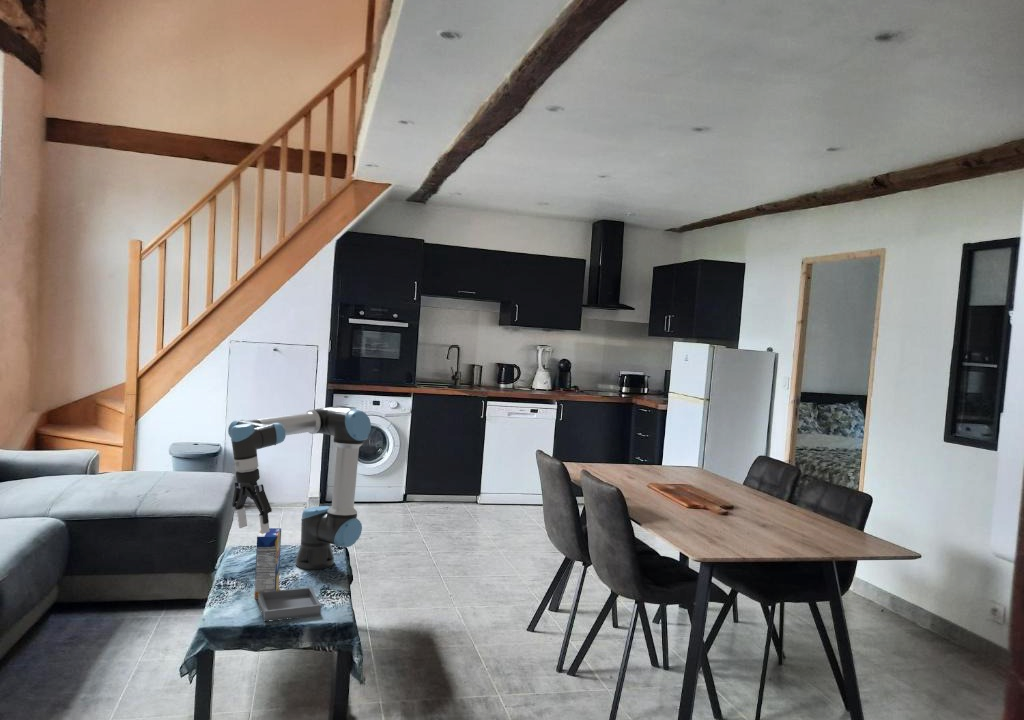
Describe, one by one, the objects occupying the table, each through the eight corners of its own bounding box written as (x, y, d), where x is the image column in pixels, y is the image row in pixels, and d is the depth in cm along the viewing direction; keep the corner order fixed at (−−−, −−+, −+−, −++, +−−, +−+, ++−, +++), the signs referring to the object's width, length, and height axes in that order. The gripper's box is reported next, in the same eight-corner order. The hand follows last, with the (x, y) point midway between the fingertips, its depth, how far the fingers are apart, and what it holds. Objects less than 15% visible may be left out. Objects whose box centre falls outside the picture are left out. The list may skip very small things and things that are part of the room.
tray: (310, 596, 261) (311, 587, 261) (320, 615, 245) (321, 605, 245) (258, 602, 254) (258, 592, 253) (264, 622, 237) (265, 611, 237)
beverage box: (254, 598, 257) (256, 536, 256) (259, 587, 268) (261, 528, 267) (274, 598, 258) (277, 536, 257) (278, 587, 269) (281, 528, 268)
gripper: (217, 469, 254) (224, 528, 256) (258, 475, 238) (265, 538, 241) (236, 463, 260) (243, 521, 262) (277, 470, 244) (285, 531, 246)
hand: (254, 529), depth 251 cm, fingers open, 13 cm apart
